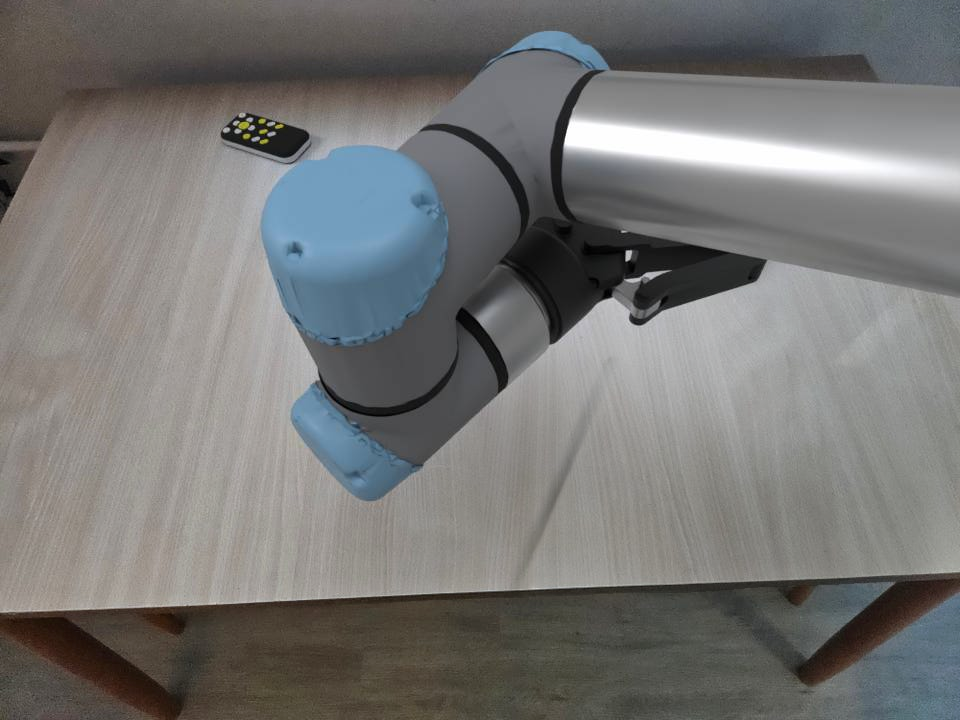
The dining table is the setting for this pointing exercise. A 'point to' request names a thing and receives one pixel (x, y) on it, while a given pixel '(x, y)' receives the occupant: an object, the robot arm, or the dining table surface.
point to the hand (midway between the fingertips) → (700, 145)
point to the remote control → (266, 137)
